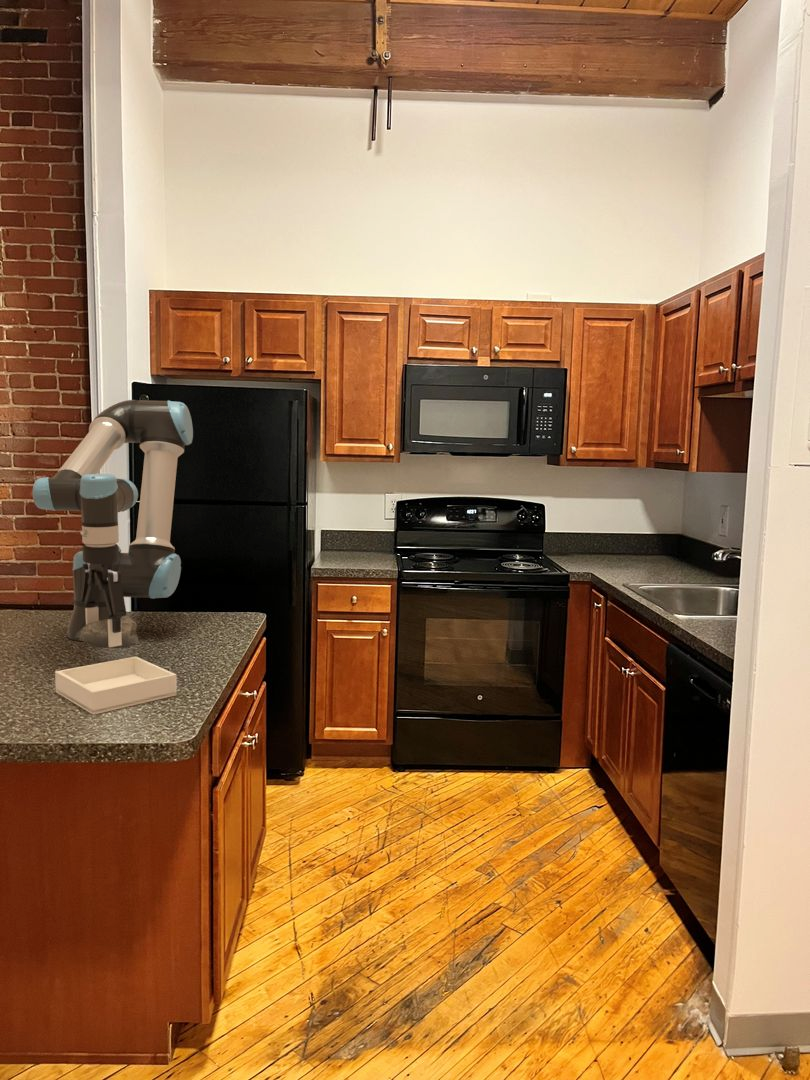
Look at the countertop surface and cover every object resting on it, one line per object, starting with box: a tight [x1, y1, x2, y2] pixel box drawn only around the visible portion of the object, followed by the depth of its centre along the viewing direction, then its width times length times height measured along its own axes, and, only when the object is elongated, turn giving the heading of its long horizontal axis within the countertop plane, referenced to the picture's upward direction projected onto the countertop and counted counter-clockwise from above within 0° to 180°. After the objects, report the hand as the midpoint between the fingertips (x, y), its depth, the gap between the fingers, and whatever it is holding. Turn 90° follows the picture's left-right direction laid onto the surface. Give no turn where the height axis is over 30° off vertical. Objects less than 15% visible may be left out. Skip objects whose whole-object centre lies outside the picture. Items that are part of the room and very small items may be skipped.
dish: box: [54, 655, 178, 715], centre depth 160 cm, size 18×18×4 cm
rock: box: [75, 614, 140, 649], centre depth 176 cm, size 13×9×6 cm, turn 105°
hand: (103, 640), depth 176 cm, fingers closed on rock, 11 cm apart
